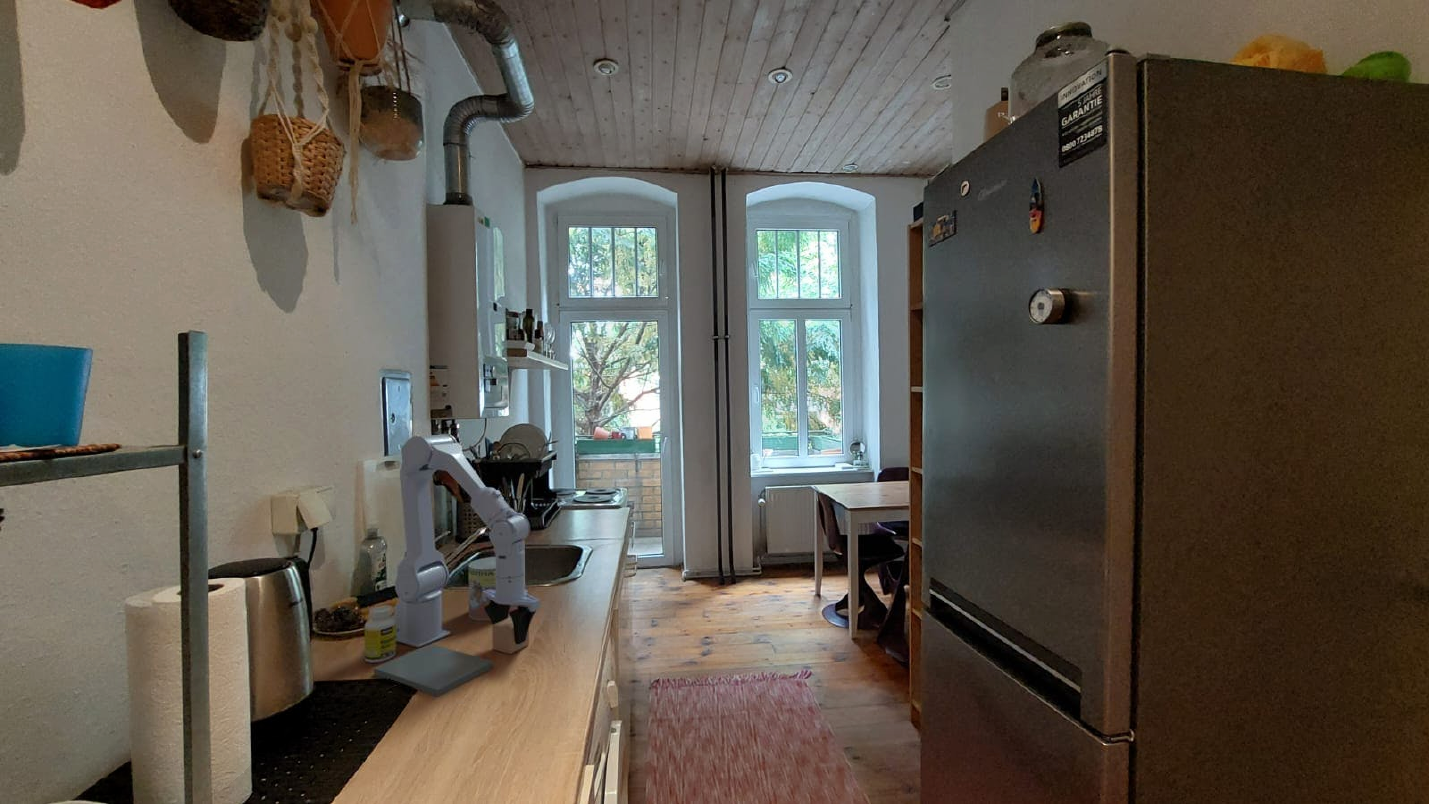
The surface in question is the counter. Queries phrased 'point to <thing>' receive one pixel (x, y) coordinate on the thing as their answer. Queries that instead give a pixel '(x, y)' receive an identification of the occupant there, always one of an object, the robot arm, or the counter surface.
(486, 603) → the canned food
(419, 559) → the robot arm
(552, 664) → the counter surface
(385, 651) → the supplement bottle
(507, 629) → the terracotta cube
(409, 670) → the slate board
